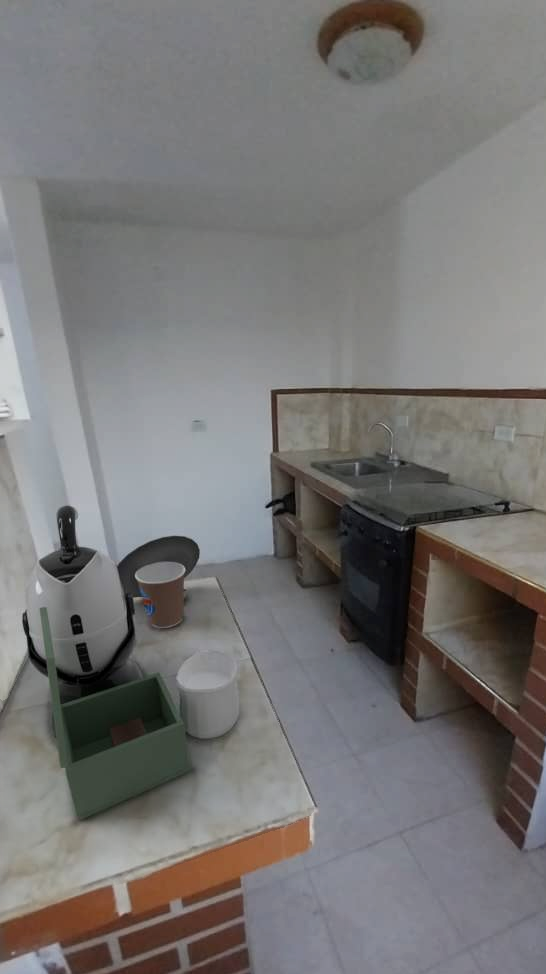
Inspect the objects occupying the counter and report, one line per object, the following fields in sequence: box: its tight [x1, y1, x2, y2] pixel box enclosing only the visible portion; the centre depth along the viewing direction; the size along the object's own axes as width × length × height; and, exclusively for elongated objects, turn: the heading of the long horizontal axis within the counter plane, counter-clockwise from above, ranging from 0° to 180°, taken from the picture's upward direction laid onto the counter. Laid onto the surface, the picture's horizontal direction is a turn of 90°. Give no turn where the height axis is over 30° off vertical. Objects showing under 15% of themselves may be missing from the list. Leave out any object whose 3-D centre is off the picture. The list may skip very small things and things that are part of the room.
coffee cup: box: [135, 562, 185, 629], centre depth 100 cm, size 10×10×12 cm
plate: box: [117, 535, 201, 599], centre depth 106 cm, size 21×21×2 cm
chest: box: [61, 672, 191, 821], centre depth 65 cm, size 15×13×9 cm
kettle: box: [21, 504, 144, 741], centre depth 74 cm, size 24×16×32 cm, turn 25°
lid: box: [40, 607, 68, 769], centre depth 57 cm, size 15×13×1 cm
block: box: [109, 718, 146, 747], centre depth 66 cm, size 4×4×4 cm
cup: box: [175, 649, 240, 739], centre depth 73 cm, size 10×10×10 cm
